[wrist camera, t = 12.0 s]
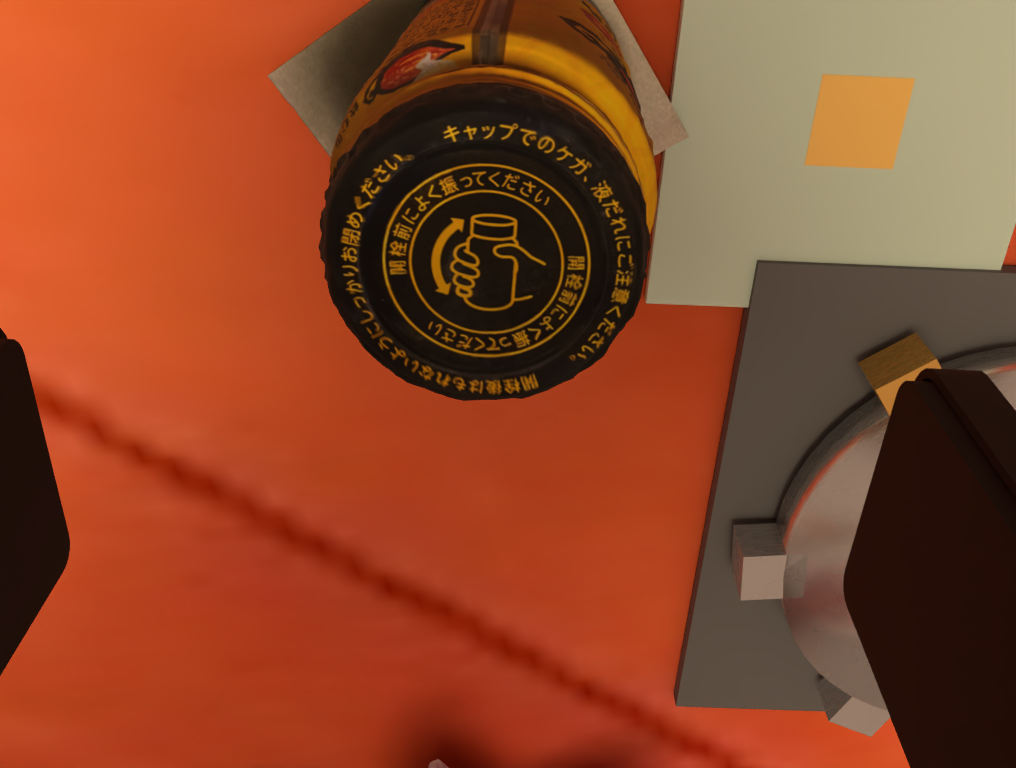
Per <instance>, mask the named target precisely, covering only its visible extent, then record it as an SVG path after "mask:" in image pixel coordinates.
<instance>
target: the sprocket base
mask: <svg viewBox="0 0 1016 768" xmlns="http://www.w3.org/2000/svg"><path fill="white" fill-rule="evenodd" d="M914 333H917V335H918V336H919V337H920V338H921V340H922V341H923V342H924V343H925V345H926V346H927V347H928V348H929V350H930V351H931V352H932V354H933V355H934V356H935V357H936V359H937V360H938V362H939V364H942V363H945V362H948V361H951V360H954V359H957V358H960V357H963V356H967V355H971V354H976V353H980V352H985V351H989V350H994V349H999V348H1007V347H1016V266H1013V265H1002V267H1001V270H983V269H959V268H935V267H912V266H888V265H864V264H841V263H817V262H793V261H770V260H757V263H756V269H755V274H754V280H753V285H752V290H751V296H750V301H749V307H748V308H747V307H744V313H743V318H742V324H741V329H740V335H739V340H738V345H737V351H736V356H735V362H734V367H733V373H732V378H731V384H730V389H729V395H728V400H727V406H726V411H725V416H724V422H723V427H722V433H721V438H720V444H719V449H718V455H717V460H716V466H715V471H714V477H713V482H712V488H711V493H710V498H709V504H708V509H707V515H706V520H705V526H704V531H703V537H702V542H701V548H700V553H699V559H698V564H697V570H696V575H695V580H694V586H693V591H692V597H691V602H690V608H689V613H688V619H687V624H686V630H685V635H684V641H683V646H682V651H681V657H680V662H679V668H678V673H677V679H676V684H675V690H674V698H675V703H676V706H684V707H713V708H742V709H771V710H800V711H825V708H824V706H823V703H822V700H821V697H820V694H819V691H818V689H817V685H818V684H819V683H820V682H821V681H822V679H823V678H824V677H823V676H822V675H821V674H820V673H819V672H817V670H816V669H815V668H814V667H813V666H812V665H811V663H810V662H809V661H808V660H807V659H806V658H805V656H804V655H803V653H802V652H801V650H800V648H799V646H798V645H797V643H796V641H795V640H794V638H793V635H792V632H791V630H790V627H789V624H788V622H787V619H786V616H785V613H784V610H783V607H782V604H781V601H780V599H762V600H742V601H741V600H740V597H739V593H738V590H737V587H736V583H735V580H734V576H733V573H732V569H731V557H732V541H733V525H744V524H764V523H775V522H776V519H777V516H778V513H779V510H780V507H781V504H782V502H783V499H784V497H785V495H786V493H787V491H788V489H789V487H790V485H791V483H792V481H793V479H794V477H795V476H796V474H797V473H798V472H799V470H800V469H801V467H802V466H803V464H804V463H805V461H806V460H807V458H808V457H809V455H810V454H811V453H812V452H813V451H814V450H815V449H816V448H817V446H818V445H819V444H820V443H821V442H822V441H823V440H824V438H825V437H826V436H827V435H828V434H829V433H830V432H831V431H832V430H833V429H835V428H836V427H837V426H838V425H839V424H840V423H841V422H842V421H843V420H845V419H846V418H847V417H848V416H849V415H850V414H851V413H853V412H854V411H856V410H857V409H858V408H860V407H861V406H862V405H864V404H865V403H867V402H868V401H869V400H871V399H872V398H874V397H875V396H876V394H875V392H874V390H873V389H872V387H871V385H870V383H869V382H868V380H867V378H866V376H865V374H864V373H863V371H862V369H861V367H860V366H859V364H858V362H860V361H862V360H864V359H866V358H868V357H870V356H872V355H873V354H875V353H877V352H879V351H881V350H883V349H885V348H887V347H889V346H891V345H893V344H895V343H896V342H898V341H900V340H902V339H904V338H906V337H908V336H910V335H912V334H914Z"/></svg>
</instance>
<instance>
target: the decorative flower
mask: <svg viewBox="0 0 1016 768" xmlns="http://www.w3.org/2000/svg"><path fill="white" fill-rule="evenodd" d="M428 768H449V767H447V766H446V765H445V764H444V763H443V762H442V761H440V760H439V759H437V760H434V761H432V762H430V764H429V767H428Z"/></svg>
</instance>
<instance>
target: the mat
mask: <svg viewBox="0 0 1016 768" xmlns="http://www.w3.org/2000/svg"><path fill="white" fill-rule="evenodd" d="M669 101H670V103H671V104H672V106H673V108H674V110H675V112H676V113H677V115H678V117H679V119H680V120H681V122H682V124H683V126H684V128H685V129H686V131H687V133H688V135H689V137H688V138H686V139H684V140H682V141H680V142H678V143H676V144H674V145H673V146H671V147H669V148H668V149H666V150H664V151H663V154H662V162H661V170H660V178H659V186H658V194H657V207H656V211H655V218H654V226H653V234H652V242H651V250H650V258H649V266H648V274H647V282H646V290H645V301H646V303H650V304H674V305H698V306H723V307H747V308H748V307H749V301H750V296H751V290H752V285H753V280H754V274H755V269H756V263H757V260H770V261H793V262H817V263H841V264H864V265H888V266H912V267H935V268H959V269H983V270H1001V267H1002V264H1003V261H1004V258H1005V255H1006V252H1007V249H1008V246H1009V243H1010V239H1011V236H1012V233H1013V230H1014V227H1015V224H1016V0H682V2H681V10H680V18H679V26H678V34H677V42H676V50H675V58H674V66H673V74H672V82H671V90H670V98H669Z"/></svg>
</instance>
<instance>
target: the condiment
mask: <svg viewBox="0 0 1016 768" xmlns="http://www.w3.org/2000/svg"><path fill="white" fill-rule="evenodd" d="M268 77H269V78H270V80H271V81H272V82H273V83H274V85H275V86H276V87H277V89H278V90H279V91H280V93H281V94H282V95H283V97H284V98H285V99H286V100H287V101H288V102H289V104H290V105H291V106H292V107H293V108H294V109H295V111H296V112H297V113H298V115H299V116H300V118H301V119H302V120H303V122H304V123H305V124H306V125H307V127H308V128H309V129H310V131H311V132H312V133H313V135H314V136H315V137H316V139H317V140H318V141H319V143H320V144H321V145H322V147H323V148H324V149H325V151H326V152H327V153H328V155H329V156H330V157H331V165H330V171H331V174H330V179H329V183H330V185H329V187H328V189H327V190H326V191H325V200H326V205H325V208H324V209H323V211H322V212H321V219H320V228H321V232H322V235H321V240H320V244H319V250H320V253H321V259H322V261H323V262H324V264H325V279H326V280H327V282H328V288H329V293H330V296H331V298H332V301H333V303H334V304H335V306H336V307H337V309H338V311H339V313H340V315H341V317H342V318H343V320H344V322H345V323H346V325H347V327H348V328H349V329H350V330H351V331H352V333H353V334H354V335H355V336H356V337H357V338H358V340H359V341H360V343H361V344H362V346H363V347H364V348H365V349H366V350H367V351H368V352H369V353H370V354H371V355H372V356H373V357H374V358H375V359H376V360H377V361H378V362H380V363H381V364H382V365H383V366H385V367H386V368H388V369H389V370H391V371H392V372H393V373H394V374H395V375H396V376H398V377H400V378H402V379H403V380H405V381H406V382H407V383H410V384H413V385H416V386H419V387H422V388H425V389H428V390H430V391H433V392H435V393H438V394H442V395H445V396H447V397H450V398H454V399H458V400H463V401H467V400H497V399H507V398H520V399H522V398H526V397H529V396H532V395H535V394H538V393H541V392H544V391H546V390H549V389H551V388H553V387H554V386H556V385H558V384H561V383H563V382H565V381H568V380H570V379H572V378H574V377H575V376H576V375H577V374H578V373H579V372H581V371H583V370H585V369H587V368H588V367H590V366H591V365H593V364H594V363H595V362H596V361H598V360H599V359H601V358H602V357H603V356H604V354H605V353H606V352H607V350H608V348H609V346H610V344H611V343H612V341H613V340H614V339H615V337H616V336H617V334H618V333H619V332H620V331H621V330H622V329H623V328H624V326H625V324H626V323H627V322H628V321H629V320H630V319H631V318H632V317H633V316H634V313H635V310H636V307H637V305H638V302H639V300H640V297H641V293H642V287H643V281H644V279H645V277H646V268H647V256H648V251H649V249H650V233H651V230H652V226H653V223H654V216H655V211H656V207H657V175H656V165H655V162H654V156H655V155H657V154H659V153H660V152H662V151H664V150H666V149H668V148H669V147H671V146H673V145H674V144H676V143H678V142H680V141H682V140H684V139H686V138H688V137H689V135H688V133H687V131H686V129H685V128H684V126H683V124H682V122H681V120H680V119H679V117H678V115H677V113H676V112H675V110H674V108H673V106H672V104H671V103H670V101H669V99H668V96H667V95H666V94H665V92H664V90H663V88H662V87H661V85H660V83H659V81H658V79H657V78H656V76H655V74H654V72H653V70H652V69H651V67H650V65H649V63H648V61H647V60H646V58H645V56H644V54H643V52H642V51H641V49H640V47H639V45H638V43H637V42H636V40H635V38H634V36H633V35H632V33H631V31H630V29H629V27H628V26H627V24H626V22H625V20H624V19H623V17H622V15H621V13H620V11H619V10H618V8H617V6H616V4H615V3H614V1H613V0H371V1H370V2H369V3H368V4H366V5H365V6H363V7H362V8H360V9H359V10H357V11H356V12H355V13H353V14H352V15H351V16H349V17H348V18H346V19H345V20H343V21H342V22H341V23H339V24H338V25H337V26H335V27H334V28H333V29H331V30H329V31H328V32H326V33H325V34H324V35H323V36H322V37H320V38H319V39H317V40H316V41H315V42H313V43H312V44H311V45H309V46H308V47H307V48H305V49H304V50H303V51H301V52H300V53H298V54H297V55H295V56H294V57H293V58H291V59H290V60H289V61H287V62H286V63H284V64H283V65H282V66H280V67H279V68H277V69H276V70H275V71H273V72H272V73H271V74H269V75H268Z"/></svg>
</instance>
